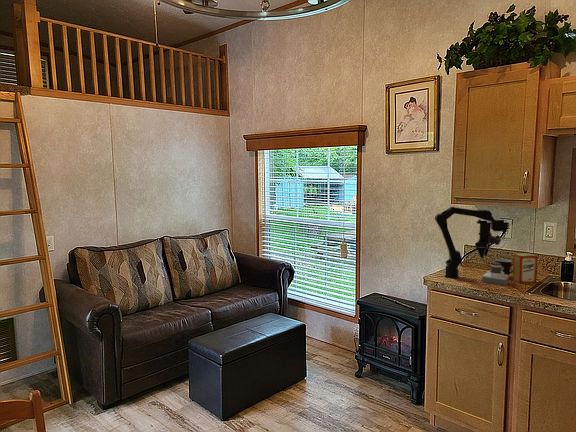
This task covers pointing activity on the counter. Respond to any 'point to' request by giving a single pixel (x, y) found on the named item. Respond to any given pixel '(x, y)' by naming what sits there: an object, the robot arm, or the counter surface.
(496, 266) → the lens
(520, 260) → the baking soda box
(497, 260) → the coffee mug
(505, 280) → the octagonal ring tray
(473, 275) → the counter surface
